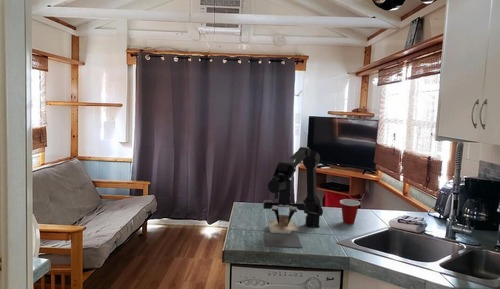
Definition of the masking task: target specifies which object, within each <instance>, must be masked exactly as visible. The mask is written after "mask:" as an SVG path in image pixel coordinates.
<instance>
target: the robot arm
mask: <svg viewBox="0 0 500 289" xmlns="http://www.w3.org/2000/svg"><path fill="white" fill-rule="evenodd" d="M320 161H321V155H320V153H318V152H317V151H315V150H312V149H311V148H309V147H304V146H300V147H299V148H298V150H296V152H294V154H292V155H291V156H290V157H289V158H287V159H283V160H281V161H279V162H278V164H277V166H276V168H275V170H274V173H273V176H272V178H271V180H270V181H268V184H267V189H268V191H269V193H271V194H273V199H274V200H276V202H275V201H274V202H273V200H272V199H264V200H263V202H262V204H263V205H262V208H263V209H265V210H271V211H272V212H274V214H275V218H276V221H277V222H278V224H279V215H280V214H279V208H288V224H289V222H290V221H291V219H292V217H293V216H294V214H295V213H297V212H298V211H303V213H304V214H305V217H304V218H305V221H304V224H305V225H306V227H308V228H320V217H322V216H323V214H324V209H323V208H322V205H321V199H320V198H319V197H318V195H317V167H318V166H319V165H320ZM301 162H302V165H303V166H304V168H305V170H306V197H305V199H304V200H303V201H297V200H296V201H295V202H294V203H292V182H293V181H292V180H294V179H295V177H294V174H295V172H296V171H297V169H296V168H297V166H299V165H300V164H301Z"/></svg>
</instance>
